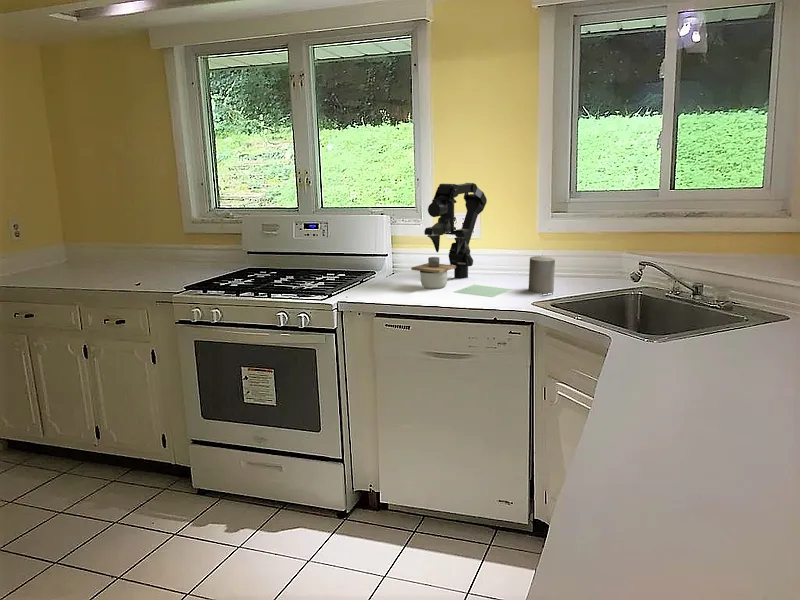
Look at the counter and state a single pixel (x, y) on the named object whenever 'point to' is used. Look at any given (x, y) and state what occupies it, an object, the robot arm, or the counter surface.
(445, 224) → the robot arm
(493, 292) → the sage mat
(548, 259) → the pillar candle
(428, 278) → the teacup
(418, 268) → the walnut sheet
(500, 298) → the counter surface
